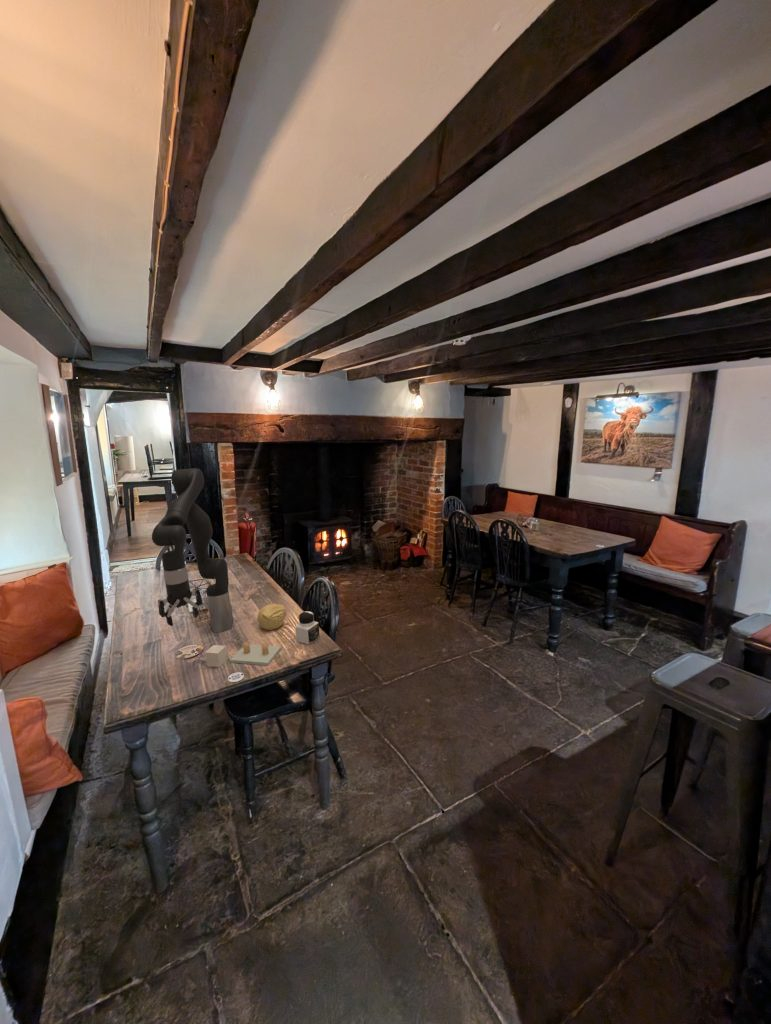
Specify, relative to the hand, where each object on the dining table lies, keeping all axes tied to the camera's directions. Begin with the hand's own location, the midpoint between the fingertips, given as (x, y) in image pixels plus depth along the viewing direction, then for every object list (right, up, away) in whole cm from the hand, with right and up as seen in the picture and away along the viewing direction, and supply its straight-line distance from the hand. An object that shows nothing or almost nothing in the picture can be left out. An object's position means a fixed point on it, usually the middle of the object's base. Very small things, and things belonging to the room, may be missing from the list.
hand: (183, 621), depth 153 cm
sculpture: (+22, -13, +38) cm, 46 cm away
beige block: (+8, -19, +10) cm, 23 cm away
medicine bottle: (+41, -15, +25) cm, 51 cm away
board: (+23, -18, +14) cm, 32 cm away
